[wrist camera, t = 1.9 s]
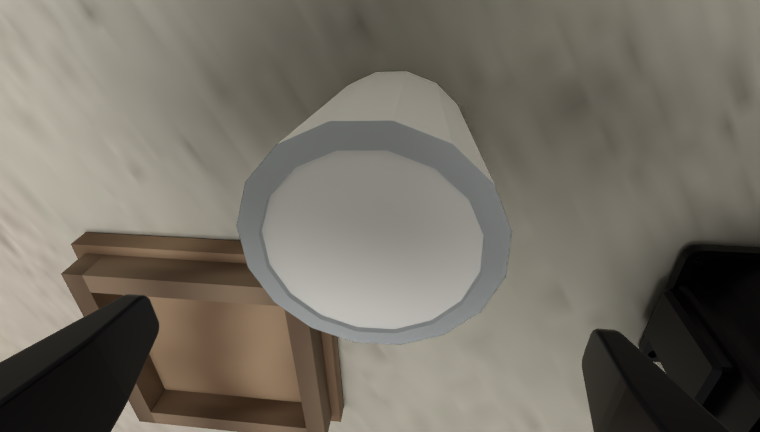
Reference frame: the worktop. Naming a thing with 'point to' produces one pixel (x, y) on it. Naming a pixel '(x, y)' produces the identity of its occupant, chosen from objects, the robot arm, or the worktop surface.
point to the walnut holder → (212, 336)
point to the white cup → (377, 216)
